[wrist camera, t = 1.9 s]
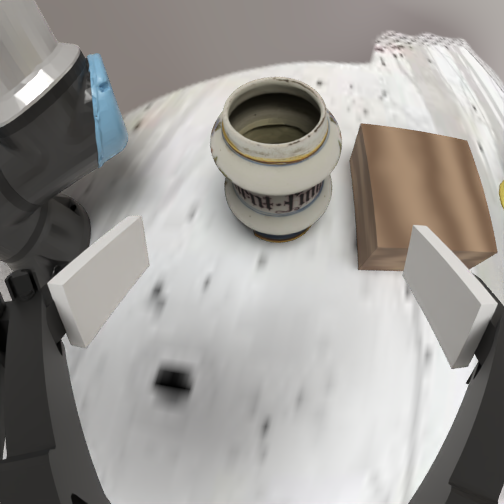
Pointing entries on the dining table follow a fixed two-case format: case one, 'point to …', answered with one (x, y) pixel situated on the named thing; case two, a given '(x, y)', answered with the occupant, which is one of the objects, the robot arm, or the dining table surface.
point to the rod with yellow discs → (502, 193)
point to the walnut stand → (416, 196)
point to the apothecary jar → (276, 156)
